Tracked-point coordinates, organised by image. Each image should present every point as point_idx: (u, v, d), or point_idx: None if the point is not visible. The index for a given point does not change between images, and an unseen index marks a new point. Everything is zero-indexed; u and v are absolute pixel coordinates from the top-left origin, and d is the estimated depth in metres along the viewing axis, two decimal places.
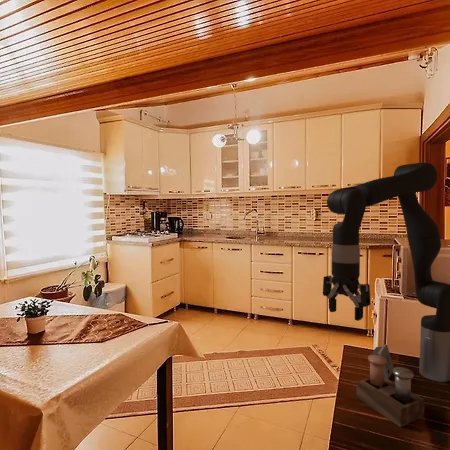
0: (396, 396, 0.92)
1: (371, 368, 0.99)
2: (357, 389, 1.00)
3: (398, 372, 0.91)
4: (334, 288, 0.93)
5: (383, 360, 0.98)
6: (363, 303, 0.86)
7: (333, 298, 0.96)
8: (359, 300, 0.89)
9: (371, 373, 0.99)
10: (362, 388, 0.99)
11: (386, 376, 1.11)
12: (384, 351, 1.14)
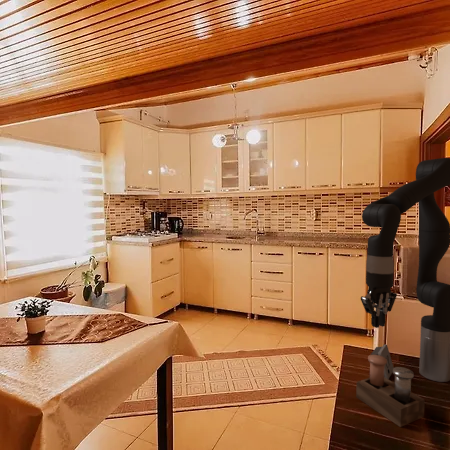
0: (396, 396, 0.92)
1: (371, 368, 0.99)
2: (357, 389, 1.00)
3: (398, 372, 0.91)
4: (380, 301, 0.96)
5: (383, 360, 0.98)
6: (390, 308, 0.99)
7: None
8: None
9: (371, 373, 0.99)
10: (362, 388, 0.99)
11: (386, 376, 1.11)
12: (384, 351, 1.14)
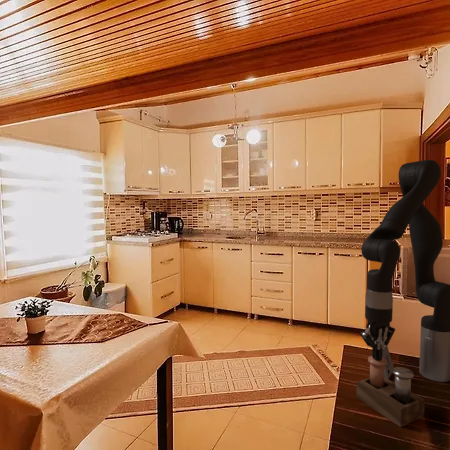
0: (396, 396, 0.92)
1: (371, 369, 0.99)
2: (357, 389, 1.00)
3: (398, 372, 0.91)
4: (379, 335, 0.97)
5: (383, 361, 0.98)
6: (387, 342, 0.99)
7: None
8: (376, 341, 1.00)
9: (371, 374, 0.99)
10: (362, 388, 0.99)
11: (386, 376, 1.11)
12: (384, 351, 1.14)
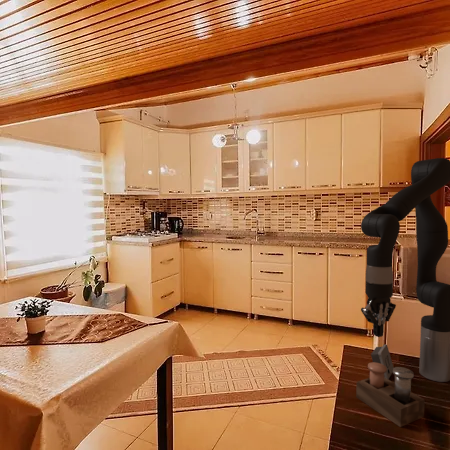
0: (396, 396, 0.92)
1: (371, 376, 0.99)
2: (357, 389, 1.00)
3: (398, 372, 0.91)
4: (380, 311, 0.96)
5: (383, 368, 0.98)
6: (388, 318, 0.98)
7: None
8: (376, 318, 0.99)
9: (371, 381, 0.99)
10: (362, 388, 0.99)
11: (386, 376, 1.11)
12: (384, 351, 1.14)
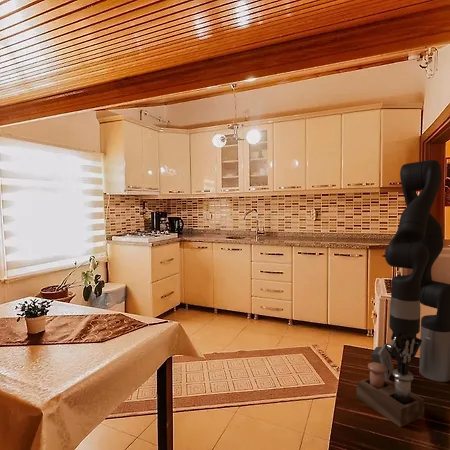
0: (396, 398, 0.92)
1: (371, 376, 0.99)
2: (357, 389, 1.00)
3: (398, 374, 0.91)
4: (406, 348, 0.89)
5: (383, 368, 0.98)
6: (413, 354, 0.91)
7: None
8: (401, 354, 0.92)
9: (371, 381, 0.99)
10: (362, 388, 0.99)
11: (386, 376, 1.11)
12: (384, 351, 1.14)
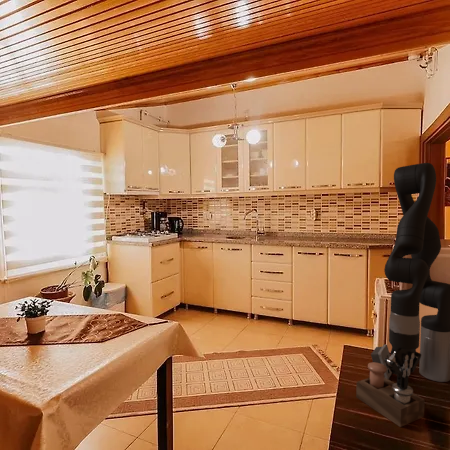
0: None
1: (371, 376, 0.99)
2: (357, 389, 1.00)
3: (398, 388, 0.91)
4: (405, 362, 0.89)
5: (383, 368, 0.98)
6: (413, 368, 0.92)
7: None
8: None
9: (371, 381, 0.99)
10: (362, 388, 0.99)
11: (386, 376, 1.11)
12: (384, 351, 1.14)
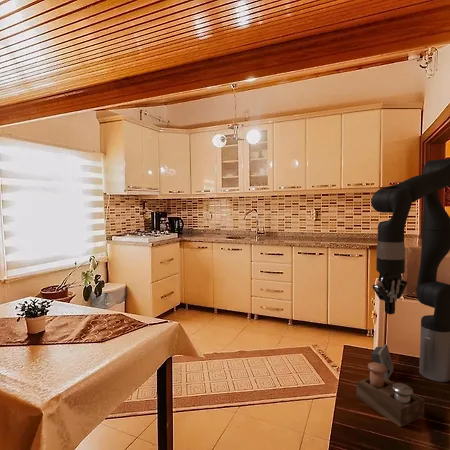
0: None
1: (371, 376, 0.99)
2: (357, 389, 1.00)
3: (397, 389, 0.91)
4: (392, 287, 0.94)
5: (383, 368, 0.98)
6: (399, 295, 0.97)
7: None
8: (388, 295, 0.97)
9: (371, 381, 0.99)
10: (362, 388, 0.99)
11: (386, 376, 1.11)
12: (384, 351, 1.14)
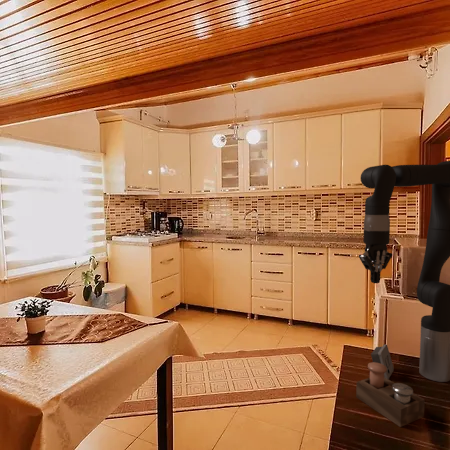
0: None
1: (371, 376, 0.99)
2: (357, 389, 1.00)
3: (397, 389, 0.91)
4: (377, 257, 1.01)
5: (383, 368, 0.98)
6: (384, 265, 1.04)
7: None
8: (374, 266, 1.04)
9: (371, 381, 0.99)
10: (362, 388, 0.99)
11: (386, 376, 1.11)
12: (384, 351, 1.14)
